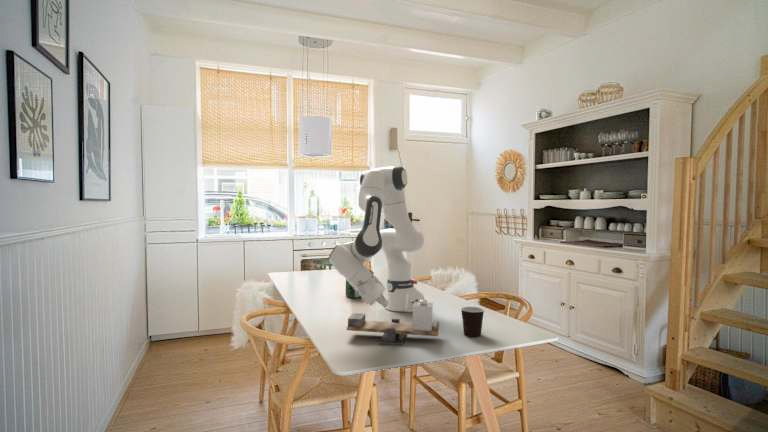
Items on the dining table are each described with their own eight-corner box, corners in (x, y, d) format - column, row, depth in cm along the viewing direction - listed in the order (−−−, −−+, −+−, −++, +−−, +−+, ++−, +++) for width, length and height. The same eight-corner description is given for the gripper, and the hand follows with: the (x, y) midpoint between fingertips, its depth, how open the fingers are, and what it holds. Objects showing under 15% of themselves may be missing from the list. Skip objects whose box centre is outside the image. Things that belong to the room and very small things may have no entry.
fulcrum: (379, 344, 152) (379, 329, 151) (386, 331, 167) (386, 317, 167) (401, 345, 150) (401, 330, 150) (406, 332, 166) (406, 318, 166)
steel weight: (412, 330, 154) (412, 302, 153) (414, 324, 161) (414, 297, 160) (431, 331, 153) (432, 303, 152) (432, 326, 160) (433, 298, 159)
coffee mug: (479, 339, 157) (479, 313, 157) (457, 335, 162) (457, 310, 161) (489, 331, 167) (489, 306, 167) (468, 328, 171) (468, 304, 171)
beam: (346, 330, 157) (346, 319, 156) (352, 322, 166) (353, 312, 166) (437, 336, 151) (438, 324, 151) (438, 328, 161) (439, 317, 161)
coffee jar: (343, 295, 233) (343, 262, 232) (356, 294, 236) (356, 261, 236) (350, 299, 224) (350, 264, 224) (363, 297, 228) (363, 263, 227)
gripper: (361, 279, 150) (388, 306, 148) (372, 269, 170) (396, 294, 169) (349, 291, 151) (376, 318, 149) (361, 280, 171) (385, 304, 170)
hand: (387, 305), depth 159 cm, fingers closed
